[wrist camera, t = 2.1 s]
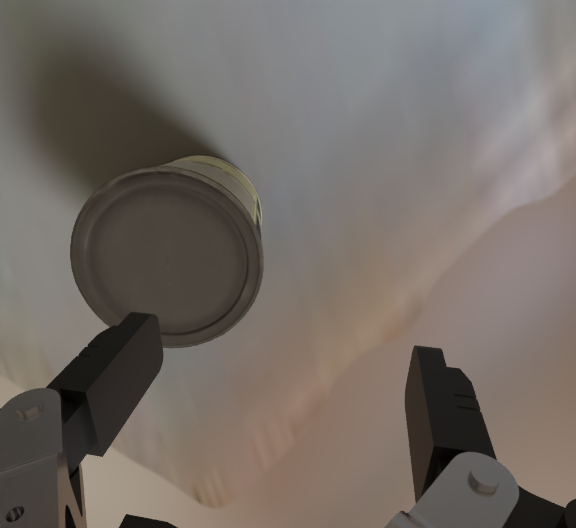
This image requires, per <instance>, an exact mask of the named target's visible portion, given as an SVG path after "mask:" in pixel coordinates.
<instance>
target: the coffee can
mask: <svg viewBox="0 0 576 528" xmlns="http://www.w3.org/2000/svg"><path fill="white" fill-rule="evenodd" d="M261 225H262V209H261V204H260V200H259V197H258V194H257V192H256V190H255V188H254V186H253V185H252V183H251V182H250V180H249V179H248V178H247V177H246V176H245V175H244V174H243V173H242V172H241V171H240V170H239V169H238V168H236V167H235V166H233V165H232V164H230V163H228V162H227V161H224V160H222V159H219V158H215V157H211V156H202V155H196V156H188V157H184V158H180V159H177V160H175V161H173V162H171V163H167V164H163V165H160V166H154V167H146V168H140V169H136V170H132V171H129V172H126V173H123V174H121V175H119V176H117V177H115V178H113V179H111V180H109V181H108V182H107V183H105V184H104V185H103V186H102V187H100V188H99V189H98V190H97V191H96V192H95V193H94V194H93V195H92V196H91V197H90V198H89V199H88V200H87V202H86V203H85V205H84V206H83V208H82V210H81V211H80V213H79V215H78V217H77V220H76V222H75V225H74V229H73V232H72V236H71V245H70V259H71V266H72V271H73V275H74V279H75V282H76V284H77V286H78V289H79V291H80V293H81V294H82V296H83V298H84V299H85V301H86V303H87V304H88V305H89V307H90V308H91V309H92V310H93V312H94V313H95V314H96V315H97V316H98V317H99V318H100V319H101V320H102V321H103V322H104V323H105V324H107V325H108V326H109V327H111V326H113V325H116V326H118V325H119V324H120V323H121V322H122V321H123V320H124V319H125V317H126V316H127V315H128V314H129V313H131V312H139V313H148V314H155V315H156V316H157V317H158V320H159V327H160V333H161V340H162V347H163V348H184V347H191V346H195V345H199V344H202V343H205V342H208V341H211V340H213V339H215V338H217V337H219V336H221V335H223V334H225V333H226V332H228V331H229V330H230V329H231V328H233V327H234V326H235V325H236V324H237V323H238V322H239V321H240V320H241V319H242V318H243V317H244V316H245V315H246V313H247V312H248V311H249V309H250V308H251V306H252V304H253V303H254V301H255V299H256V297H257V294H258V292H259V289H260V286H261V282H262V277H263V268H264V256H263V248H262V243H261Z"/></svg>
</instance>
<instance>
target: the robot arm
mask: <svg viewBox="0 0 576 528" xmlns="http://www.w3.org/2000/svg"><path fill="white" fill-rule="evenodd" d="M162 362H163V347H162V340H161V333H160V327H159V320H158V317H157V316H156V315H155V314H148V313H139V312H131V313H129V314H128V315H127V316H126V317H125V319H124V320H123V321H122V322H121V323H120V324H119V325H118V326H116V325H113V326H111V327H110V328H108V329H106V330H105V331H103V332H101V333H99V334H98V335H97V336H96V337H95V338H94V339H93V340H92V341H91V342H90V343H89V344H88V347H85V348H84V349H83V350H82V351H81V352H80V353H79V356H76V357H75V358H74V359H73V360H72V361H71V362H70V363H69V365H68V366H67V367H66V368H65V369H64V370H63V371H62V372H61V373H60V374H59V375H58V376H57V377H56V378H55V379H54V380H53V381H52V382H51V383H50V384H49V385H48V386H47V387H46V388H37V389H32V390H29V391H26V392H23V393H21V394H19V395H17V396H15V397H14V398H12V399H11V400H9V401H8V402H7V403H6V404H5V405H4V406H3V407H2V408H1V409H0V528H87V523H86V510H85V500H84V499H85V498H84V486H83V475H82V468H81V464H80V463H81V461H82V460H83V459H84V457H85V456H86V454H90V455H95V456H101V457H103V455H104V454H105V452H106V451H107V449H108V448H109V446H110V445H111V443H112V442H113V440H114V439H115V437H116V436H117V434H118V433H119V431H120V430H121V428H122V427H123V425H124V424H125V422H126V421H127V419H128V418H129V416H130V415H131V413H132V412H133V410H134V409H135V407H136V406H137V404H138V403H139V401H140V400H141V398H142V397H143V395H144V394H145V392H146V391H147V389H148V388H149V386H150V385H151V383H152V382H153V380H154V379H155V377H156V376H157V374H158V373H159V371H160V369H161V366H162ZM405 411H406V420H407V429H408V437H409V446H410V455H411V464H412V473H413V482H414V492H415V501H416V504H415V506H414V507H413V508H412V509H411V510H410V511H409V512H408V513H405V512H404V511H400V512H399V513H397V514H396V515H395V516H394V517H393V518H392V519H391V520H390V522H389V523H388V524H387V525H386V527H385V528H576V499H574V500H572V501H570V502H569V503H568V504H567V506H566V508H564V507H562V506H559V505H557V504H555V503H552V502H550V501H547V500H545V499H543V498H540V497H538V496H536V495H534V494H532V493H530V492H528V491H526V490H524V489H523V488H521V487H520V486H518V485H517V482H516V480H515V478H514V477H513V475H512V474H511V473H510V471H509V470H508V469H507V468H506V467H505V466H503V465H502V464H501V463H500V462H498V461H497V459H496V456H495V453H494V450H493V447H492V444H491V441H490V437H489V435H488V432H487V428H486V425H485V423H484V419H483V416H482V413H481V412H480V407H479V404H478V401H477V400H476V395H475V391H474V389H473V385H472V383H471V381H470V380H469V379H468V378H467V377H466V375H465V374H464V373H463V372H462V371H461V370H460V369H459V368H451V367H446V363H445V359H444V356H443V352H442V349H440V348H432V347H424V346H414V348H413V352H412V357H411V362H410V367H409V372H408V378H407V383H406V390H405ZM119 528H177V527H175V526H174V525H172V524H170V523H168V522H164V521H159V520H153V519H149V518H144V517H138V516H133V515H128V514H126V515H125V517H124V519H123V521H122V523H121V525H120V527H119Z"/></svg>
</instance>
